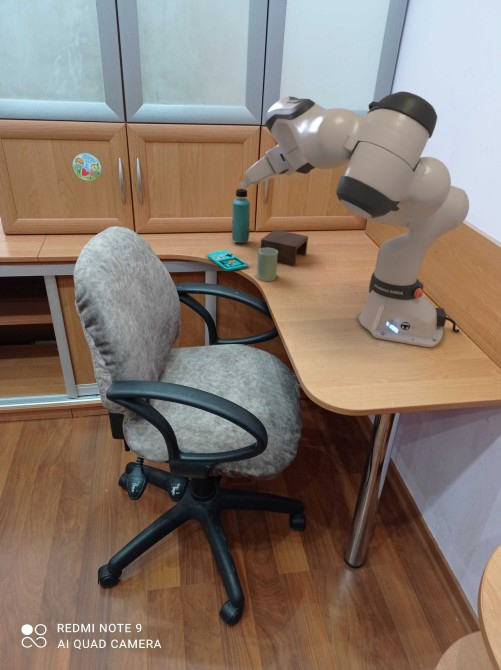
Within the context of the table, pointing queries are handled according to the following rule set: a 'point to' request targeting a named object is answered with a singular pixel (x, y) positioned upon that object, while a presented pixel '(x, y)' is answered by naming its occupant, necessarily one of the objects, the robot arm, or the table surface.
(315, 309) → the table surface
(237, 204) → the beverage bottle
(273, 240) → the stand
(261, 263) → the tumbler
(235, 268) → the handheld gaming console
